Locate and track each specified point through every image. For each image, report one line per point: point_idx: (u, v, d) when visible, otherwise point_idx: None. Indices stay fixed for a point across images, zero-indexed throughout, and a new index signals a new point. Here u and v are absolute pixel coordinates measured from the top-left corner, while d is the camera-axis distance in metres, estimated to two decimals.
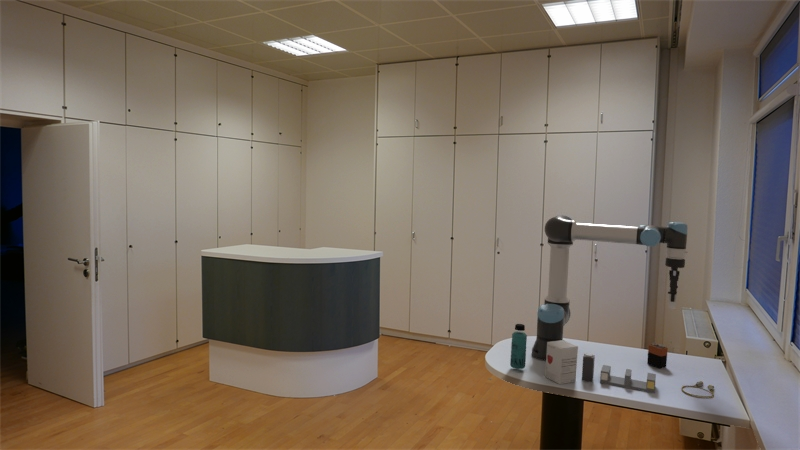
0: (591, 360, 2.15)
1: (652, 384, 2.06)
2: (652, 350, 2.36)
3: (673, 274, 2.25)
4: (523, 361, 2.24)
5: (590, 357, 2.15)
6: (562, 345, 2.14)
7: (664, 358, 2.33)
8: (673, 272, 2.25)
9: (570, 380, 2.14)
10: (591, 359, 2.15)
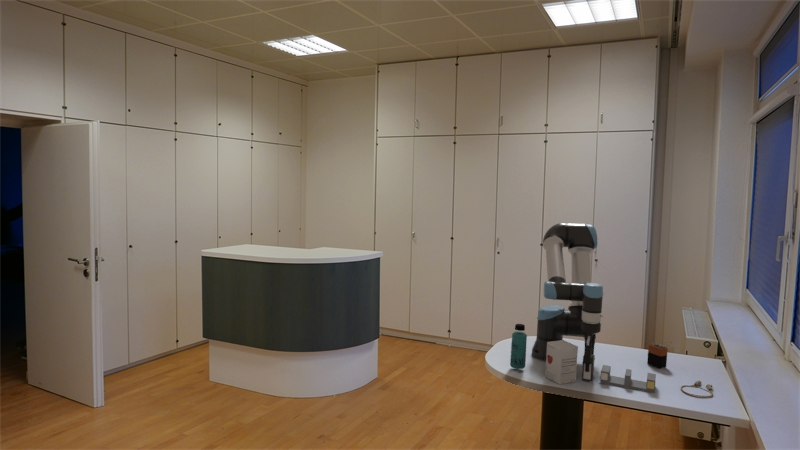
0: (591, 360, 2.15)
1: (652, 384, 2.06)
2: (652, 350, 2.36)
3: (586, 344, 2.11)
4: (523, 361, 2.24)
5: None
6: (561, 345, 2.14)
7: (664, 358, 2.33)
8: (586, 342, 2.11)
9: (570, 380, 2.14)
10: (591, 359, 2.15)
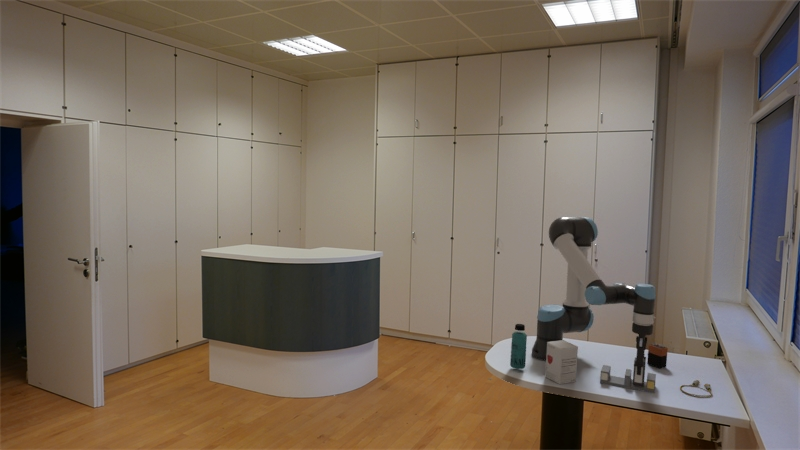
0: None
1: (652, 384, 2.06)
2: (652, 350, 2.36)
3: (639, 345, 2.05)
4: (523, 361, 2.24)
5: None
6: (562, 345, 2.14)
7: (664, 358, 2.33)
8: (639, 343, 2.04)
9: (570, 380, 2.14)
10: (643, 363, 2.09)
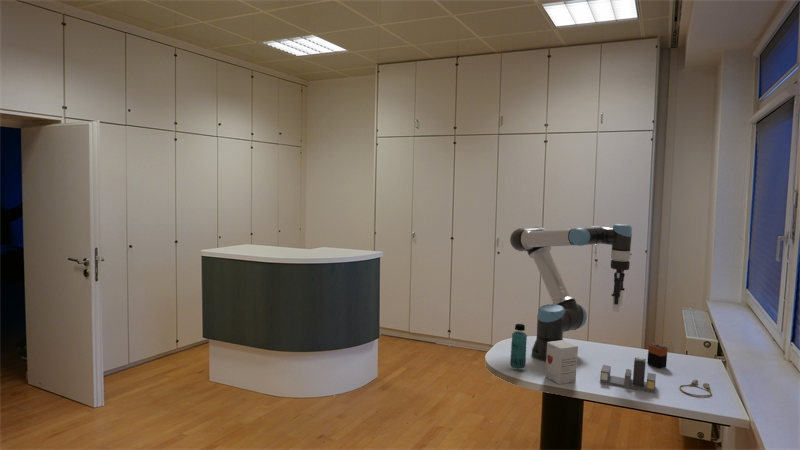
0: (642, 364, 2.09)
1: (652, 384, 2.06)
2: (652, 350, 2.36)
3: (616, 277, 2.23)
4: (523, 361, 2.24)
5: (642, 361, 2.09)
6: (562, 345, 2.14)
7: (664, 358, 2.33)
8: (617, 274, 2.23)
9: (570, 380, 2.14)
10: (643, 363, 2.09)
